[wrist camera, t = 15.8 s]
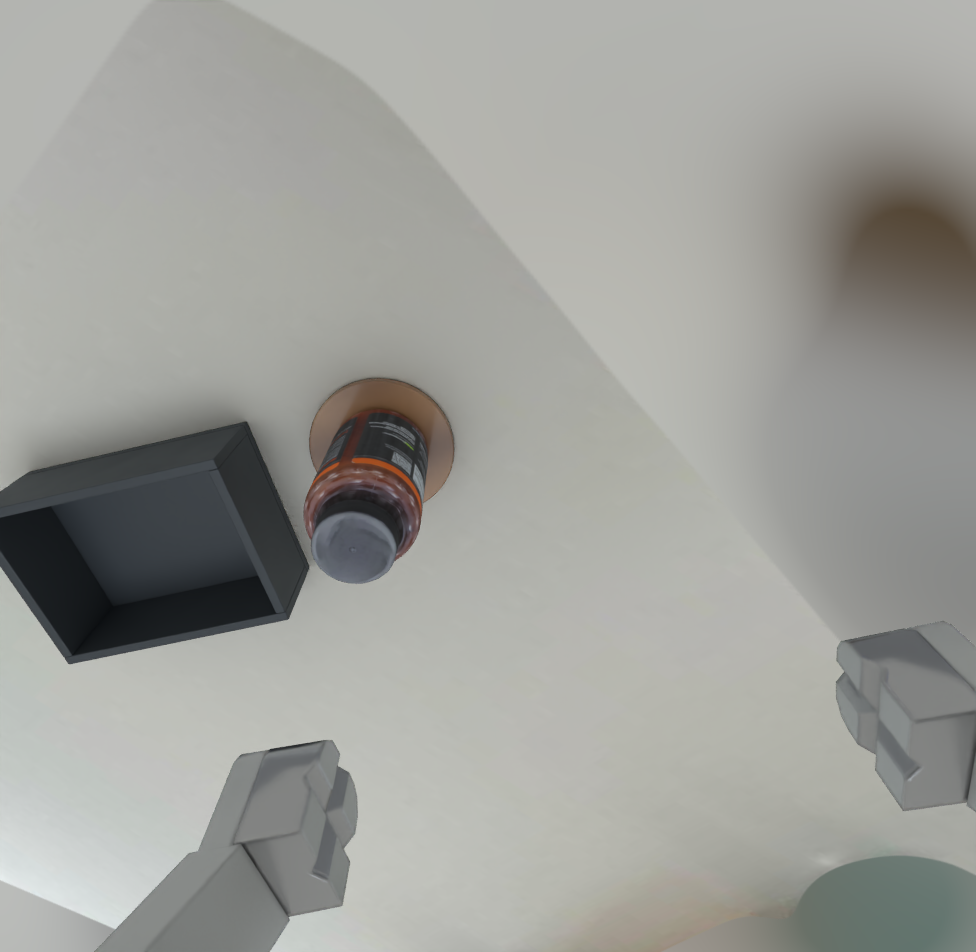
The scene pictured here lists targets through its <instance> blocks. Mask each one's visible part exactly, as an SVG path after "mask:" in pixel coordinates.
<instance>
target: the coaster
mask: <svg viewBox="0 0 976 952" xmlns="http://www.w3.org/2000/svg"><path fill="white" fill-rule="evenodd" d="M373 409H383V410H390V411H393V412H396V413H399V414H401V415H403V416H405V417H407V418H408V419H409V420H410V421H412V422H413V423H414V424H415V425H416V426H417V427H418V429H419V430H420V431H421V432H422V434H423V436H424V438H425V441H426V444H427V449H428V467H427V474H426V483H425V491H424V499H423V503H424V502H425V501H427V500H428V499H430V498H431V497H432V496H434V495H435V494H436V493H437V492H438V491H439V490H440V488H441V487H442V486H443V484H444V483H445V481H446V479H447V478H448V476H449V473H450V471H451V468H452V464H453V458H454V439H453V434H452V430H451V427H450V425H449V422H448V420H447V418H446V416H445V415H444V413H443V412H442V410H441V409H440V407H439V406H438V405H437V404H436V403H435V402H434V401H433V400H432V399H431V398H430V397H429V396H427V395H426V394H425V393H423V392H422V391H420V390H419V389H417V388H415V387H413V386H411V385H409V384H406V383H403V382H400V381H396V380H391V379H381V378H377V379H366V380H360V381H357V382H354V383H351V384H349V385H346V386H344V387H342V388H341V389H339V390H338V391H336V392H335V393H334V394H332V395H331V396H330V397H329V398H328V399H327V400H326V401H325V402H324V404H323V405H322V406H321V408H320V409H319V411H318V413H317V414H316V416H315V419H314V421H313V423H312V427H311V431H310V438H309V447H310V454H311V459H312V462H313V465H314V467H315V469H316V471H317V472H318V470H319V468H320V466H321V464H322V462H323V459H324V457H325V455H326V453H327V451H328V449H329V447H330V444H331V442H332V440H333V438H334V436H335V434H336V433H337V431H338V430H339V428H340V427H341V426H342V424H343V423H344V422H346V421H347V420H348V419H349V418H350V417H352V416H353V415H355V414H357V413H360V412H363V411H367V410H373Z"/></svg>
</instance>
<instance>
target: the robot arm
mask: <svg viewBox="0 0 976 952" xmlns="http://www.w3.org/2000/svg"><path fill="white" fill-rule="evenodd" d="M836 661H837V662H838V663H839V665H840V666H841V667H842V669H843V670H844V673H843V674H842V675H841V676H840V678H839V679H838V680H837V681H836V699H837V703H838V706H839V710H840V713H841V716H842V718H843V720H844V722H845V725H846V727H847V729H848V730H849V732H850V733H851V735H852V737H853V738H854V740H855V741H856V743H857V744H858V745H860V746H861V747H863V748H865V749H867V750H868V751H870V752H872V753H874V754H876V765H875V771H876V772H877V774H878V775H879V777H880V778H881V779H882V781H883V782H884V784H885V785H886V787H887V788H888V790H889V791H890V793H891V794H892V795H893V797H894V798H895V800H896V801H897V803H898V804H899V806H900V807H901V809H902V810H903V811H909V810H916V809H923V808H930V807H937V806H945V805H952V804H959V803H966V802H967V806H968V807H969V808H971V809H972V810H974V811H975V812H976V646H974V645H973V644H972V643H971V642H970V641H969V640H968V639H967V638H966V637H965V636H964V635H962V634H961V633H960V632H959V631H958V630H957V629H956V628H955V627H954V626H953V625H951V624H949V623H947V622H944V621H940V622H935V623H930V624H925V625H920V626H915V627H910V628H908V629H899V630H894V631H890V632H884V633H880V634H875V635H869V636H864V637H860V638H855V639H850V640H845V641H841V642H840V643H839V645H838V647H837V660H836ZM339 757H340V753H339V751H338V749H337V747H336V746H335V744H334V742H333V740H323V741H317V742H311V743H305V744H298V745H292V746H286V747H280V748H274V749H270V750H265V751H259V752H253V753H247V754H241V755H240V756H239V757H238V759H237V760H236V761H235V762H234V763H233V765H232V768H231V770H230V773H229V775H228V778H227V780H226V783H225V785H224V788H223V790H222V793H221V795H220V798H219V800H218V803H217V805H216V807H215V810H214V812H213V815H212V817H211V820H210V822H209V825H208V827H207V830H206V832H205V835H204V837H203V840H202V842H201V845H200V847H199V850H198V851H197V852H192V853H189V854H188V855H187V856H186V857H185V858H184V859H183V860H182V861H181V862H180V863H179V864H178V865H177V866H176V867H175V868H174V869H173V870H172V871H171V872H170V873H169V874H168V875H167V876H166V877H165V879H164V880H163V881H162V882H161V883H160V884H159V885H158V886H157V887H156V888H155V889H154V890H153V891H152V892H151V893H150V894H149V895H148V896H147V897H146V898H145V899H144V900H143V901H142V902H141V904H140V905H139V906H138V907H137V908H136V909H135V910H134V911H133V912H132V913H131V914H130V915H129V916H128V917H127V918H126V919H125V920H124V921H123V922H122V923H121V924H120V925H119V926H118V927H117V929H116V930H115V931H114V932H113V933H112V934H111V935H110V936H109V937H108V938H107V939H106V940H105V941H104V942H103V943H102V944H101V945H100V946H99V948H97V949H96V950H95V951H94V952H270V950H271V949H272V947H273V946H274V944H275V943H276V941H277V939H278V938H279V936H280V935H281V933H282V932H283V930H284V928H285V927H286V925H287V924H288V922H289V921H290V920H289V917H290V916H295V915H300V914H305V913H310V912H315V911H320V910H325V909H330V908H335V907H340V906H342V905H343V899H344V894H345V888H346V883H347V877H348V871H349V866H350V860H349V859H348V857H347V855H346V853H345V851H344V848H345V846H346V845H347V844H348V842H349V841H350V840H351V838H352V837H353V836H354V834H355V831H356V824H357V818H358V808H357V794H356V790H355V785H354V782H353V780H352V778H351V776H350V773H349V772H347V771H346V770H344V769H342V768H340V767H338V762H339Z"/></svg>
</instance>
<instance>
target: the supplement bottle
mask: <svg viewBox="0 0 976 952" xmlns="http://www.w3.org/2000/svg"><path fill="white" fill-rule="evenodd" d="M427 467H428V449H427V444H426V441H425V438H424V436H423V434H422V432H421V431H420V430H419V429H418V427H417V426H416V425H415V424H414V423H413V422H412V421H410V420H409V419H408V418H407V417H405V416H403V415H401V414H399V413H396V412H393V411H390V410H383V409H373V410H367V411H363V412H360V413H357V414H355V415H353V416H352V417H350V418H349V419H348V420H347V421H346V422H344V423H343V424H342V426H341V427H340V428H339V430H338V431H337V433H336V434H335V436H334V438H333V440H332V442H331V444H330V447H329V449H328V451H327V453H326V455H325V457H324V459H323V462H322V464H321V466H320V468H319V470H318V472H317V474H316V477H315V479H314V481H313V483H312V485H311V487H310V490H309V492H308V494H307V497H306V500H305V505H304V522H305V527H306V530H307V533H308V535H309V537H310V539H311V551H312V555H313V557H314V560H315V561H316V563H317V565H318V566H319V567H320V569H322V570H323V571H324V572H325V573H326V574H327V575H329V576H331V577H332V578H334V579H336V580H339V581H342V582H346V583H355V584H361V583H367V582H370V581H373V580H376V579H378V578H380V577H381V576H383V575H384V574H385V573H387V572H388V571H389V569H390V568H391V566H392V565H393V563H394V561H396V560H397V559H398V558H399V557H402V555H404V554H405V553H406V552H407V551H408V549H409V548H410V547H411V546H412V544H413V543H414V541H415V539H416V537H417V535H418V532H419V529H420V524H421V516H422V507H423V499H424V491H425V483H426V474H427Z"/></svg>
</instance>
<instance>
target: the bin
mask: <svg viewBox="0 0 976 952" xmlns="http://www.w3.org/2000/svg"><path fill="white" fill-rule="evenodd" d="M0 567H1V568H2V569H3V571H4V572H5V574H6V575H7V577H8V578H9V579H10V581H11V582H12V584H13V585H14V587H15V588H16V589H17V591H18V592H19V594H20V595H21V597H22V598H23V599H24V601H25V602H26V604H27V605H28V607H29V608H30V609H31V611H32V612H33V614H34V615H35V617H36V618H37V619H38V621H39V622H40V624H41V625H42V627H43V628H44V629H45V631H46V632H47V634H48V635H49V637H50V638H51V640H52V641H53V642H54V644H55V645H56V647H57V648H58V650H59V651H60V652H61V654H62V655H63V657H65V660H66V661H67V662H68V664H73V663H78V662H83V661H88V660H93V659H98V658H103V657H108V656H112V655H117V654H122V653H127V652H132V651H137V650H142V649H147V648H151V647H156V646H161V645H166V644H171V643H176V642H181V641H186V640H191V639H195V638H200V637H205V636H210V635H215V634H220V633H225V632H230V631H235V630H239V629H244V628H249V627H254V626H259V625H264V624H269V623H274V622H279V621H283V620H288V619H289V617H290V615H291V612H292V610H293V607H294V605H295V602H296V600H297V597H298V595H299V592H300V590H301V588H302V585H303V583H304V580H305V578H306V575H307V572H308V570H309V565H308V563H307V561H306V558H305V556H304V554H303V551H302V549H301V547H300V545H299V542H298V540H297V538H296V535H295V533H294V531H293V528H292V526H291V524H290V521H289V519H288V517H287V514H286V512H285V510H284V507H283V505H282V503H281V501H280V498H279V496H278V494H277V491H276V489H275V487H274V484H273V482H272V480H271V477H270V475H269V473H268V470H267V468H266V466H265V463H264V461H263V459H262V457H261V454H260V452H259V450H258V447H257V445H256V443H255V440H254V438H253V436H252V433H251V431H250V429H249V426H248V424H247V422H243V423H239V424H235V425H230V426H226V427H222V428H217V429H213V430H209V431H204V432H200V433H196V434H191V435H187V436H183V437H178V438H174V439H170V440H165V441H161V442H157V443H152V444H148V445H144V446H139V447H135V448H131V449H127V450H122V451H118V452H114V453H109V454H105V455H101V456H96V457H92V458H88V459H83V460H79V461H75V462H70V463H66V464H62V465H57V466H53V467H49V468H44V469H40V470H36V471H31V472H28V473H27V474H25V475H24V476H22V477H21V478H19V479H18V480H16V481H15V482H13V483H12V484H10V485H9V486H8V487H6V488H5V489H3V490H2V491H0Z"/></svg>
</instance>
